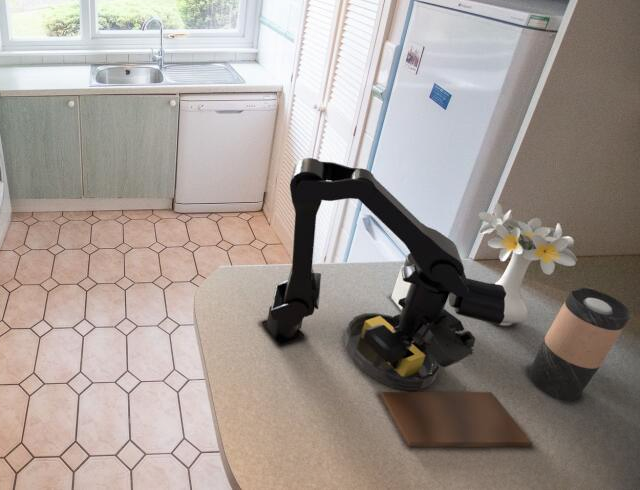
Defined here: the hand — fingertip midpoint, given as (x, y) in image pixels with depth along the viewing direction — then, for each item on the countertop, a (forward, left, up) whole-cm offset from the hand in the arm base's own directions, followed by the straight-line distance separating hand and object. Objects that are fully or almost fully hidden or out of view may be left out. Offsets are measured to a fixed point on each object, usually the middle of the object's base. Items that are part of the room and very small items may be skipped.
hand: (401, 363), depth 88 cm
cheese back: (0, +6, 0) cm, 6 cm away
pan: (0, +3, -1) cm, 3 cm away
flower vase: (+31, +3, -1) cm, 31 cm away
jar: (+17, +11, -1) cm, 21 cm away
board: (-1, -11, -1) cm, 11 cm away
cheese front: (0, 0, 0) cm, 0 cm away
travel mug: (+24, -13, -1) cm, 27 cm away
